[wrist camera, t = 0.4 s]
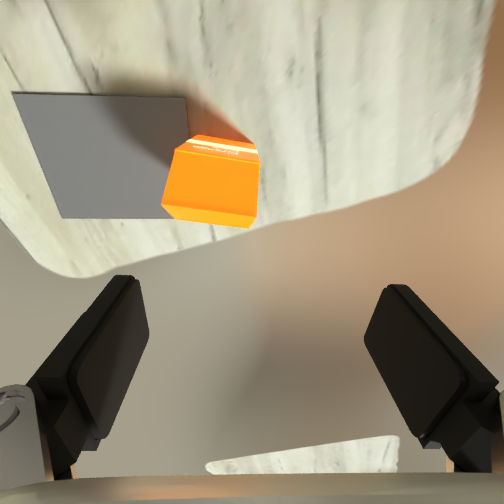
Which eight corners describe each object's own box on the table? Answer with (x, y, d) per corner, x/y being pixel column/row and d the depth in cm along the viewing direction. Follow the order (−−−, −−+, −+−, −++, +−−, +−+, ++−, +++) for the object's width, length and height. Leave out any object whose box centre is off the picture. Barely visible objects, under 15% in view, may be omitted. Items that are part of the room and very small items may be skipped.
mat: (15, 94, 34) (11, 94, 33) (185, 97, 35) (184, 97, 34) (64, 217, 43) (61, 218, 42) (197, 217, 44) (197, 218, 43)
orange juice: (197, 133, 37) (157, 158, 20) (255, 143, 38) (265, 174, 21) (194, 185, 41) (160, 243, 24) (247, 192, 42) (251, 253, 25)
